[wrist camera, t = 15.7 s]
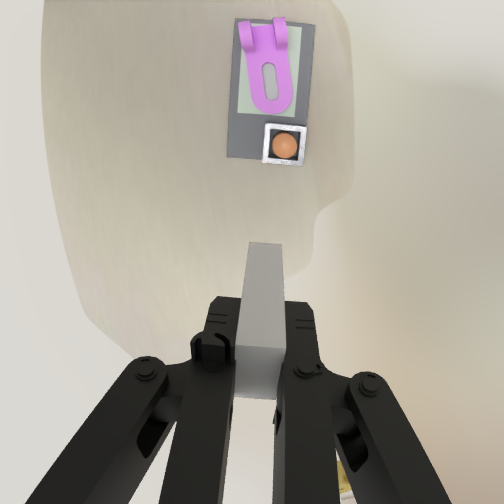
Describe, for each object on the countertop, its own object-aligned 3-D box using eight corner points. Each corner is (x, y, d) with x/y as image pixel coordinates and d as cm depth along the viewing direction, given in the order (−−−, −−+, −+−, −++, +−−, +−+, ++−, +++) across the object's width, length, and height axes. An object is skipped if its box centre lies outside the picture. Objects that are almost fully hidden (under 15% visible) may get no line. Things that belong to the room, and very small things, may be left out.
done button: (273, 129, 43) (273, 133, 39) (296, 132, 43) (298, 135, 39) (271, 151, 44) (271, 157, 41) (293, 153, 44) (295, 159, 41)
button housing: (265, 121, 42) (265, 123, 40) (304, 124, 42) (306, 127, 40) (262, 158, 45) (262, 162, 42) (300, 161, 45) (302, 166, 42)
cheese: (358, 463, 93) (361, 486, 84) (337, 473, 97) (339, 494, 88) (339, 459, 90) (342, 483, 82) (318, 469, 95) (319, 492, 86)
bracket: (242, 29, 36) (237, 19, 30) (282, 25, 35) (284, 14, 29) (254, 115, 42) (251, 119, 36) (294, 111, 41) (298, 114, 35)
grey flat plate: (235, 19, 36) (235, 18, 35) (314, 25, 35) (314, 24, 35) (227, 156, 46) (226, 157, 45) (301, 162, 45) (302, 163, 45)
